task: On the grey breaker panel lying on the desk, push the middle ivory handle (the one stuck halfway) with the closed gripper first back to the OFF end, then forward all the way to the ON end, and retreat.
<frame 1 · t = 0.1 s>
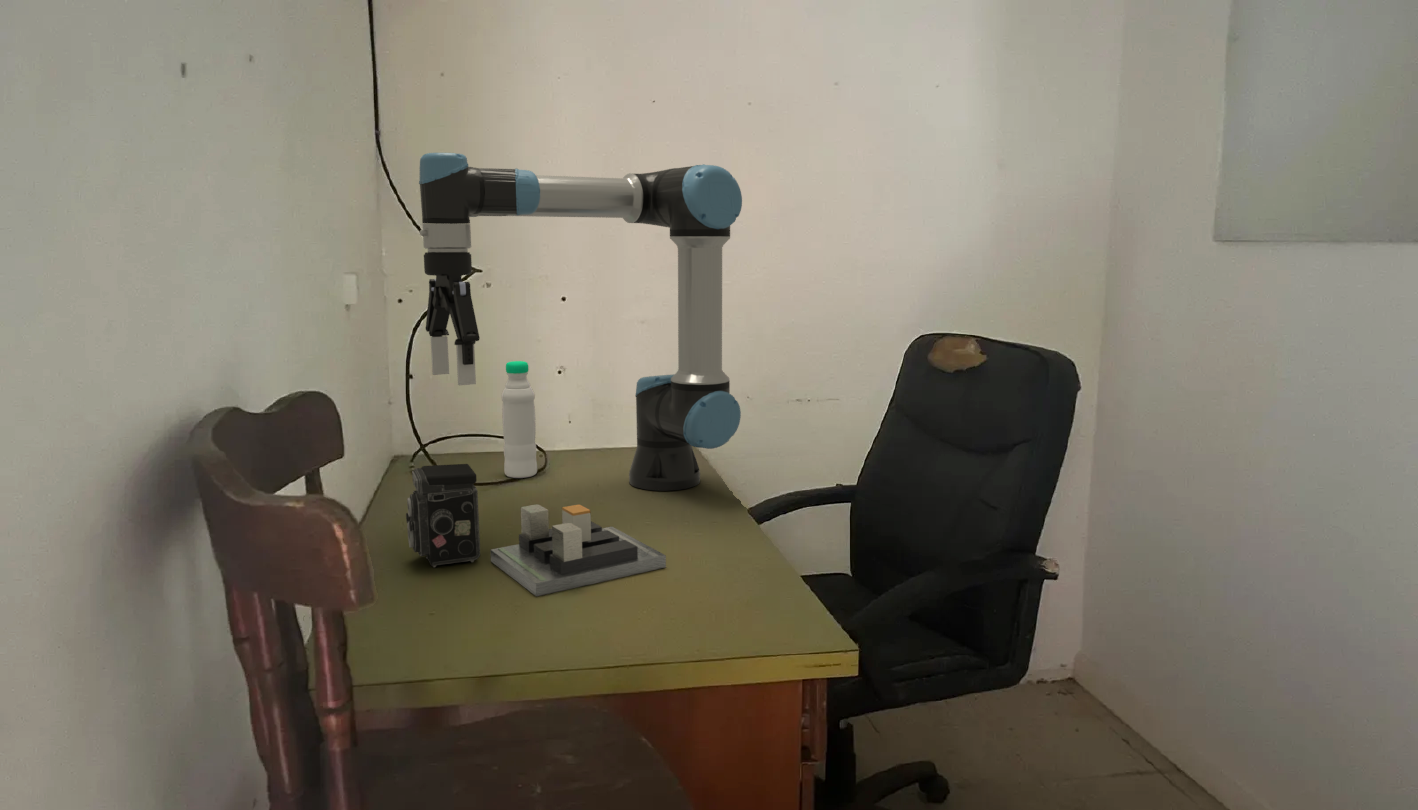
hand: (453, 379, 157), 28 cm above the table, tool pointing down, fingers open, 13 cm apart
panel: (577, 564, 150), on the table
tripped breaker: (576, 523, 149), point 7 cm above the table, slide at 0.0 cm
camera: (444, 561, 152), on the table
water bottle: (521, 475, 206), on the table
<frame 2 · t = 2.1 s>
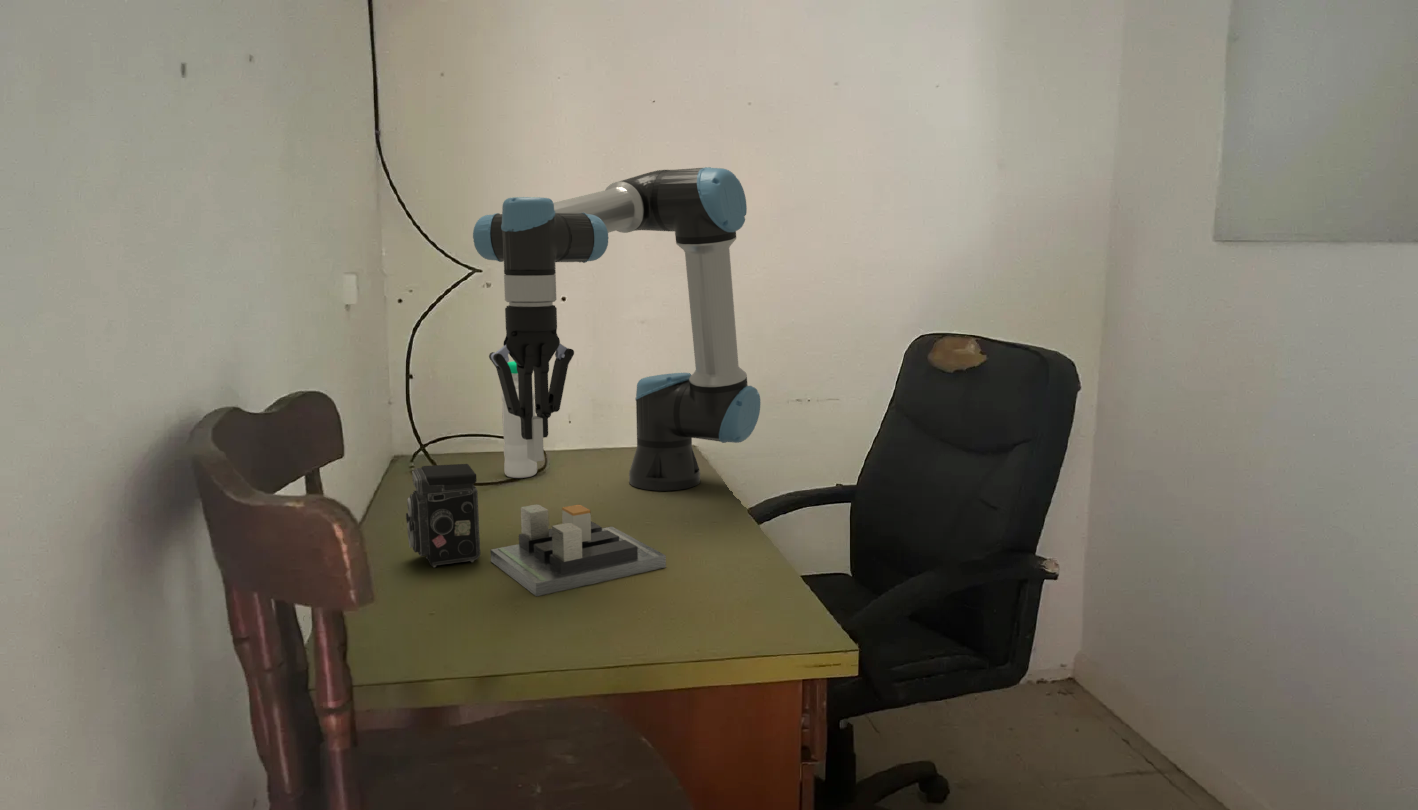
hand: (535, 459, 143), 18 cm above the table, tool pointing down, fingers closed
nothing on the table moved.
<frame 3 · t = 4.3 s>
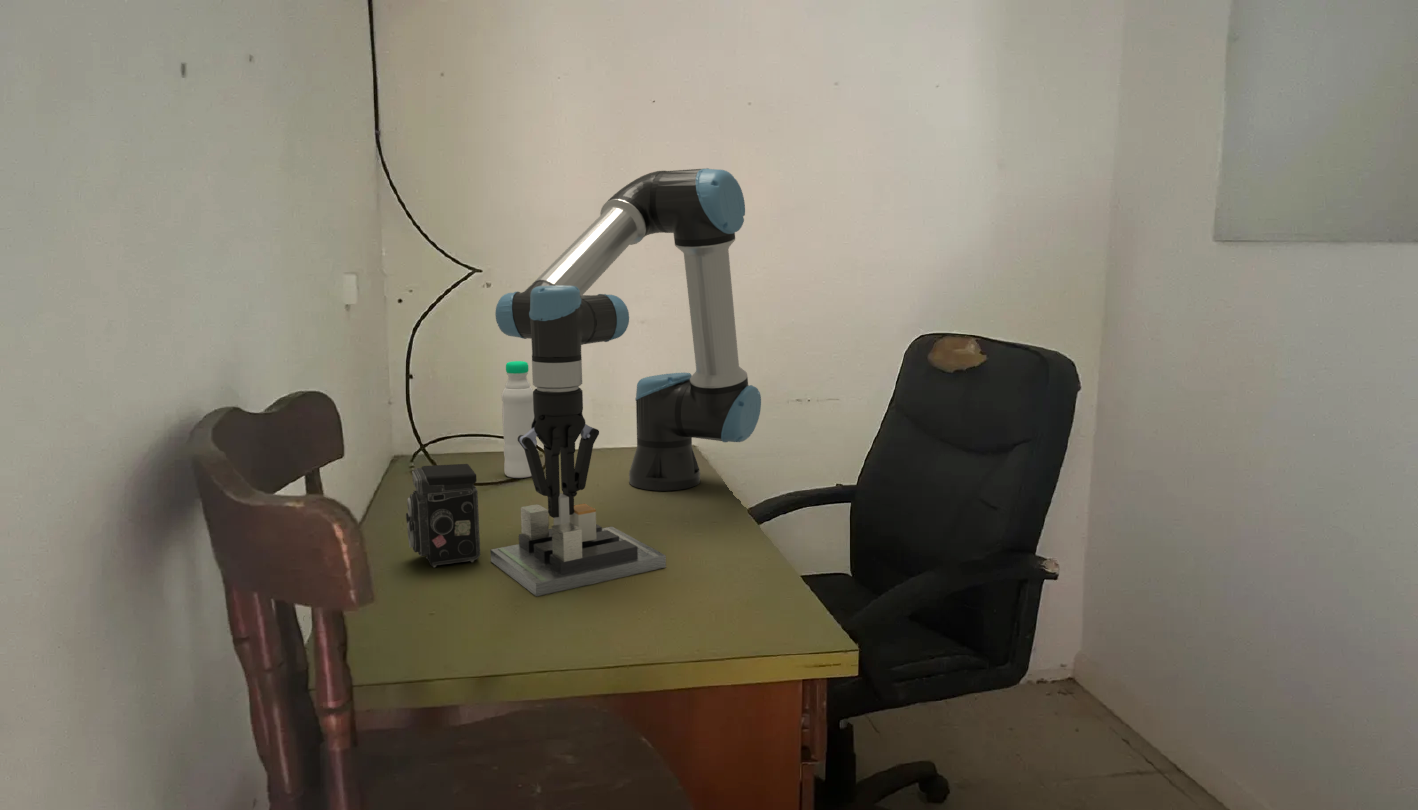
hand: (561, 535, 147), 5 cm above the table, tool pointing down, fingers closed
tripped breaker: (581, 522, 149), point 7 cm above the table, slide at -0.9 cm, touching gripper
everything else where it was.
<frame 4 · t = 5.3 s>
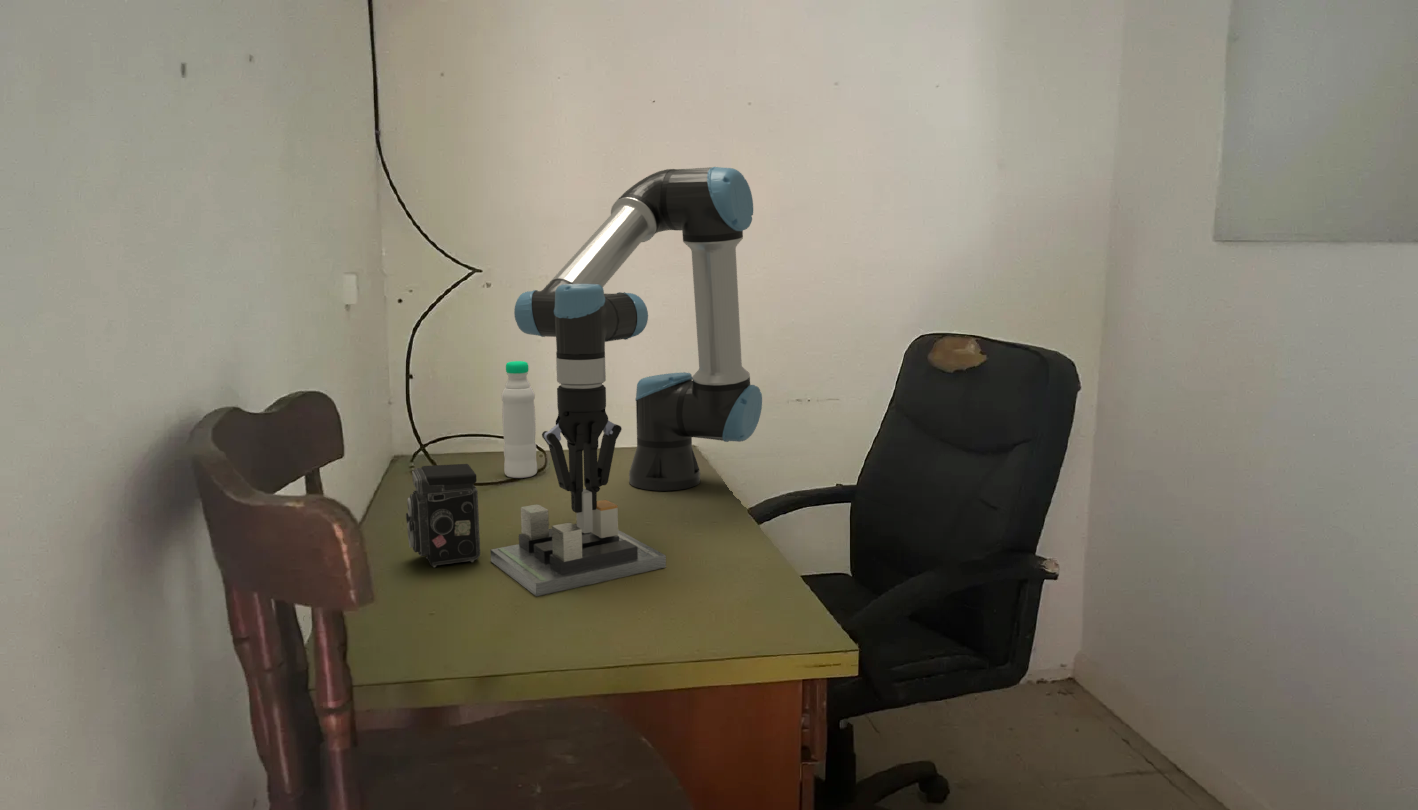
hand: (584, 530, 150), 5 cm above the table, tool pointing down, fingers closed
tripped breaker: (603, 518, 151), point 7 cm above the table, slide at -4.8 cm, touching gripper
everything else where it was.
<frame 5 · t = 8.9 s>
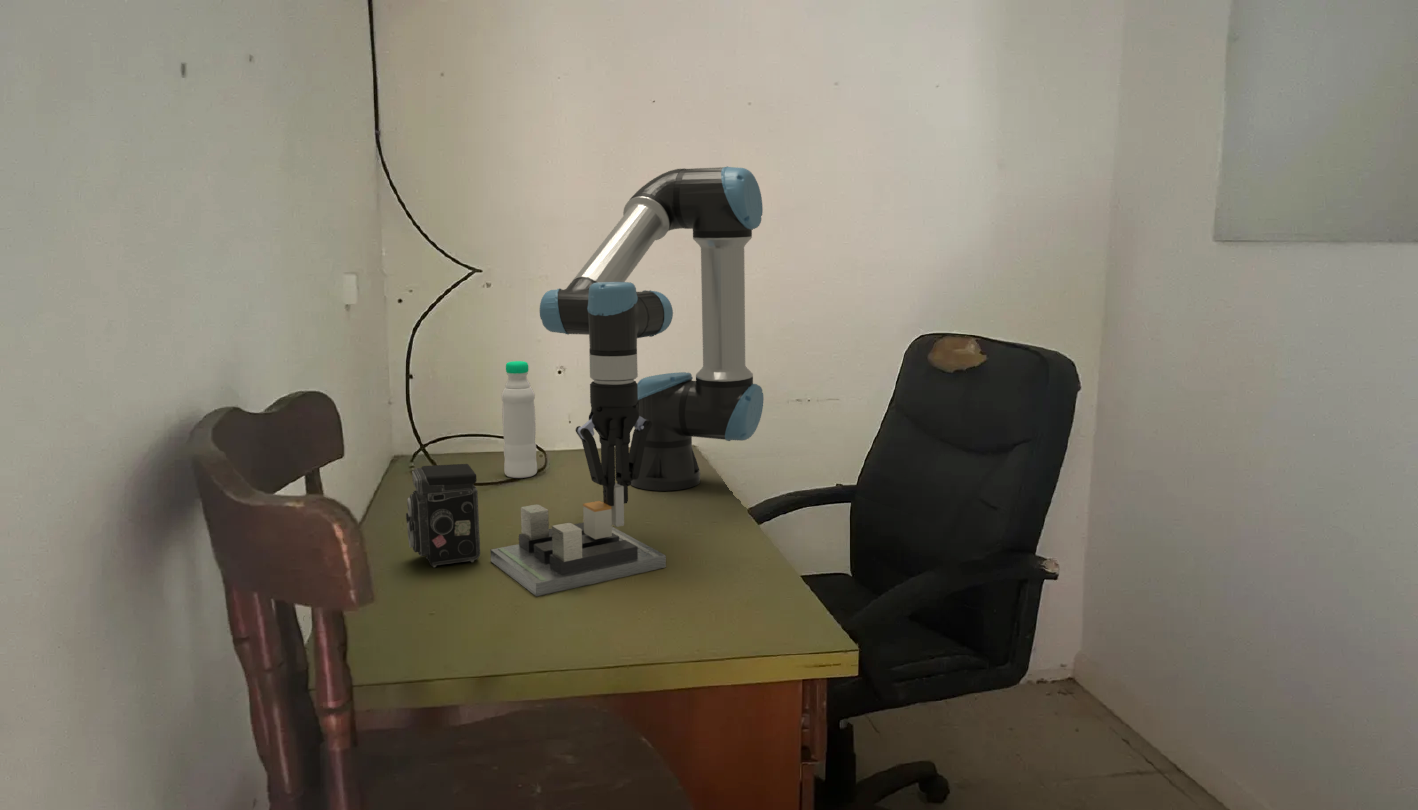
hand: (616, 523, 152), 6 cm above the table, tool pointing down, fingers closed
tripped breaker: (597, 519, 151), point 7 cm above the table, slide at -3.7 cm, touching gripper
everything else where it was.
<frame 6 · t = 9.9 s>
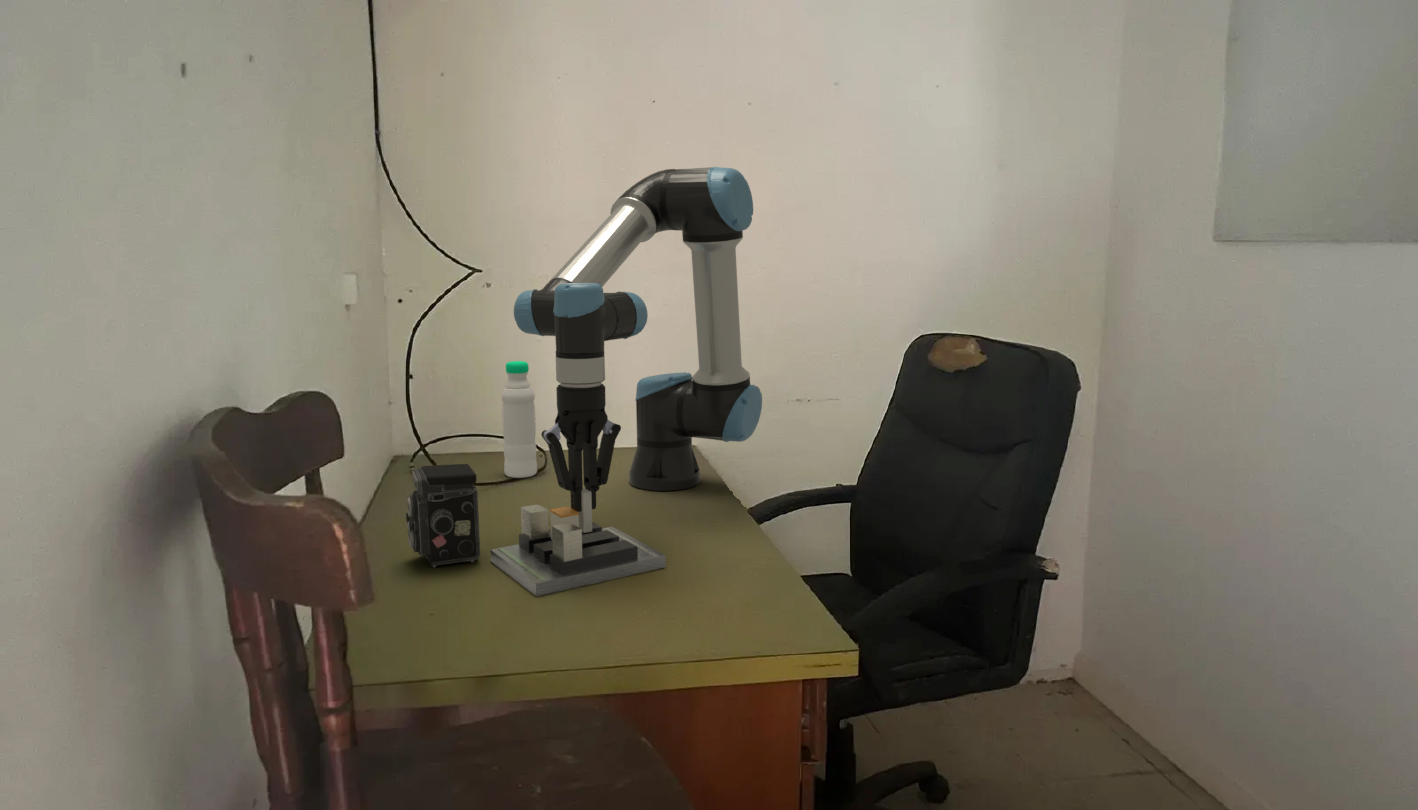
hand: (584, 529, 149), 6 cm above the table, tool pointing down, fingers closed
tripped breaker: (564, 525, 147), point 7 cm above the table, slide at 2.1 cm, touching gripper
everything else where it was.
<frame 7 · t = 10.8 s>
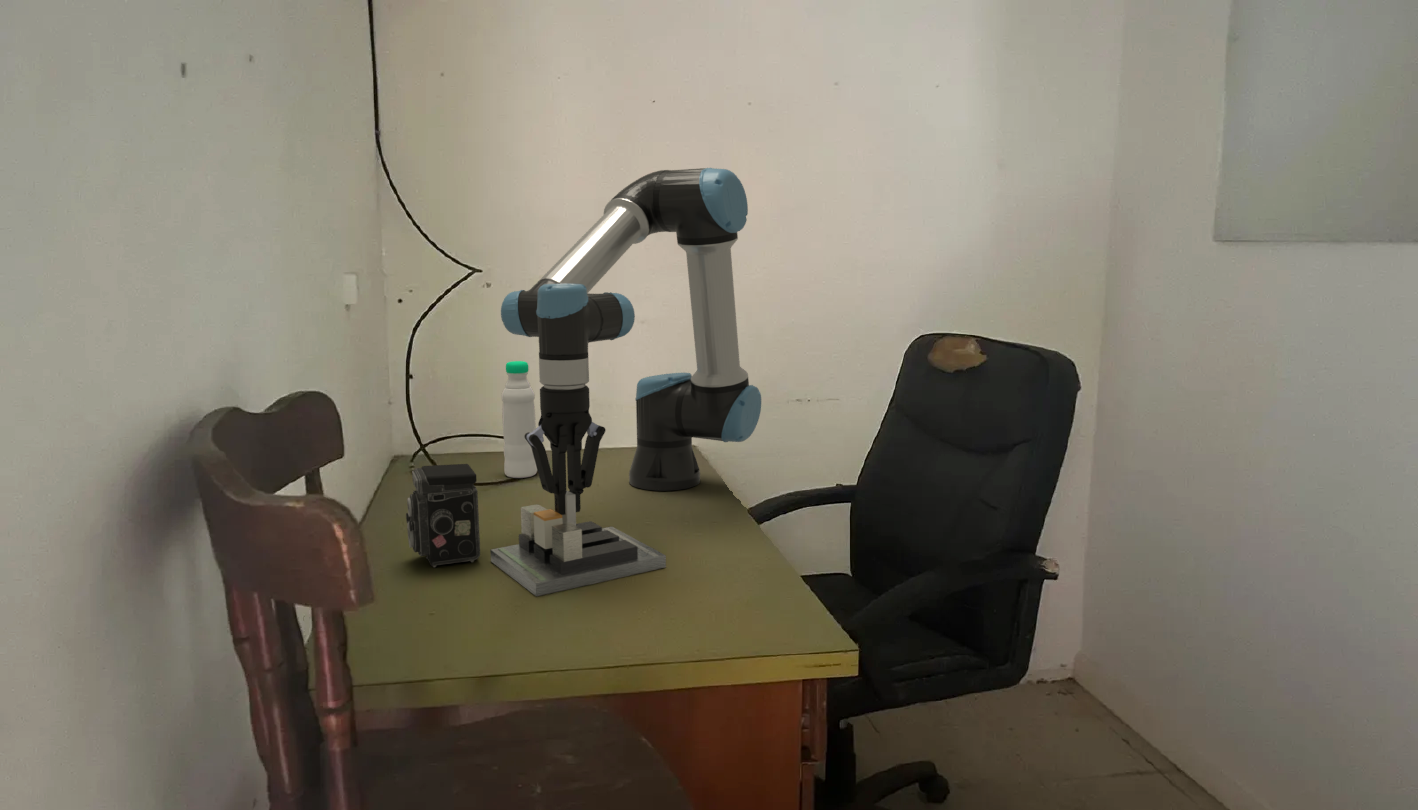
hand: (568, 532, 148), 6 cm above the table, tool pointing down, fingers closed
tripped breaker: (548, 528, 146), point 7 cm above the table, slide at 4.8 cm, touching gripper
everything else where it was.
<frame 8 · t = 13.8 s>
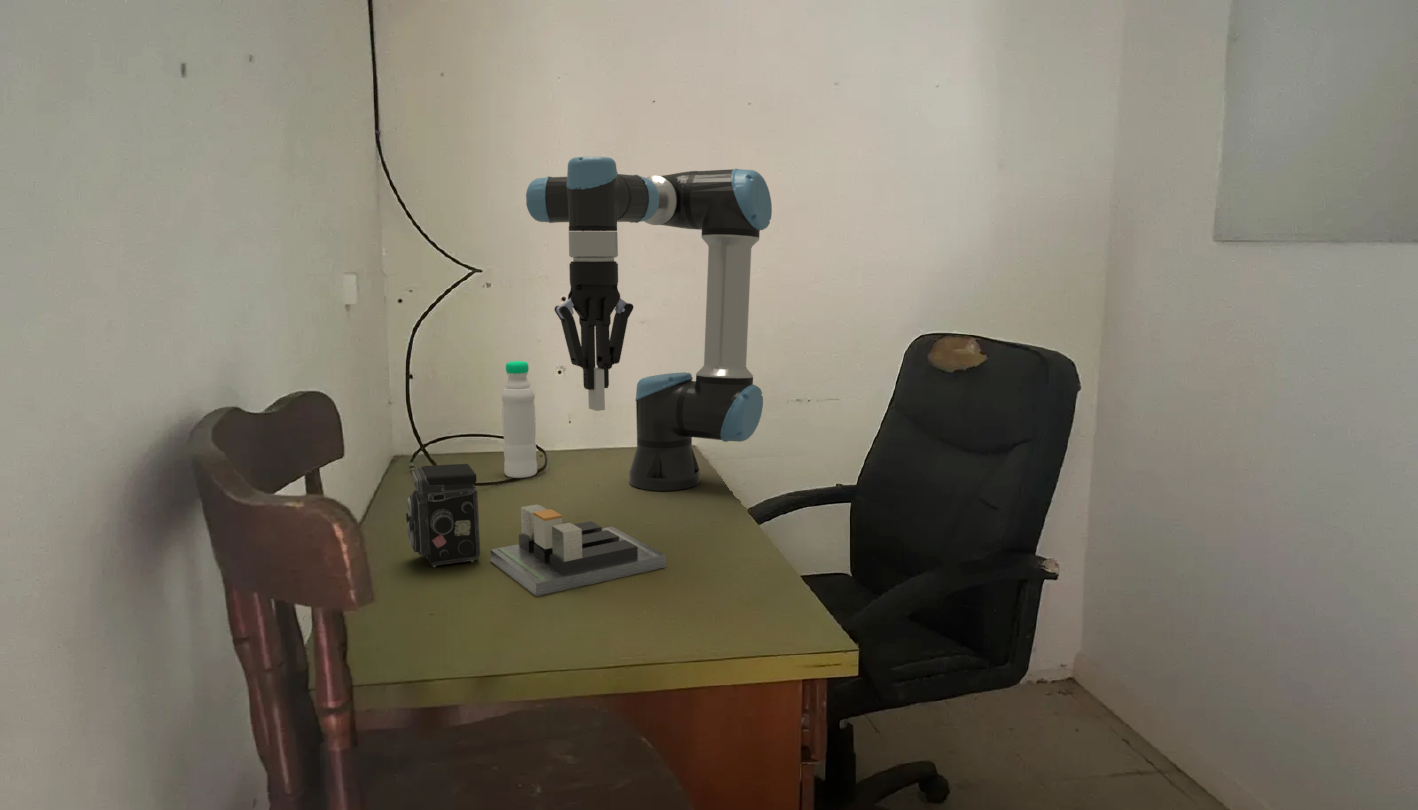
hand: (596, 409, 150), 24 cm above the table, tool pointing down, fingers closed
tripped breaker: (548, 528, 146), point 7 cm above the table, slide at 4.8 cm
everything else where it was.
at the end: tripped breaker slide at 4.8 cm; the gripper is holding nothing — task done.
